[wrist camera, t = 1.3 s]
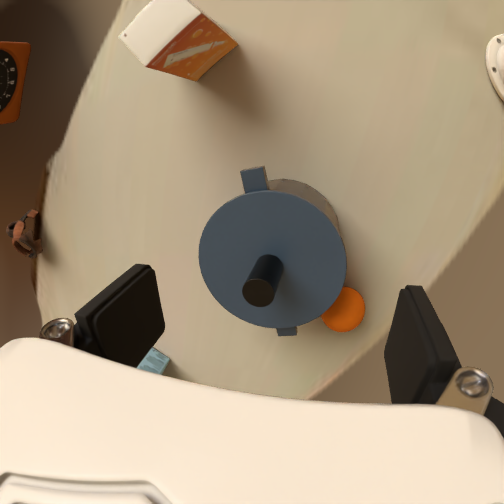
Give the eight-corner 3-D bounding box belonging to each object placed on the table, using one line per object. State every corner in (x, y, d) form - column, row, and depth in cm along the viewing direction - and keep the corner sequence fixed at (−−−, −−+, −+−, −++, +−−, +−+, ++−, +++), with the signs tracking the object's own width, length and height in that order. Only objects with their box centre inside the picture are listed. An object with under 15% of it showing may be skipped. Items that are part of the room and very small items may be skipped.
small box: (196, 82, 35) (143, 68, 24) (171, 55, 34) (115, 37, 23) (240, 44, 32) (202, 12, 20) (212, 18, 31) (167, -17, 19)
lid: (335, 177, 27) (337, 190, 21) (351, 317, 33) (353, 355, 27) (186, 203, 32) (155, 221, 26) (223, 325, 38) (204, 358, 32)
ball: (362, 276, 41) (366, 299, 35) (364, 312, 43) (367, 339, 37) (318, 280, 42) (316, 304, 37) (323, 316, 45) (321, 343, 39)
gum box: (151, 345, 57) (91, 425, 37) (172, 359, 57) (117, 442, 37) (134, 385, 66) (88, 449, 46) (151, 396, 66) (108, 463, 46)
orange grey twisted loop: (46, 209, 52) (29, 239, 47) (59, 236, 59) (45, 265, 54) (11, 203, 50) (-6, 231, 45) (24, 229, 58) (10, 255, 53)
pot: (326, 150, 35) (326, 156, 26) (345, 293, 42) (348, 335, 33) (215, 171, 40) (182, 184, 31) (248, 301, 47) (229, 341, 38)
